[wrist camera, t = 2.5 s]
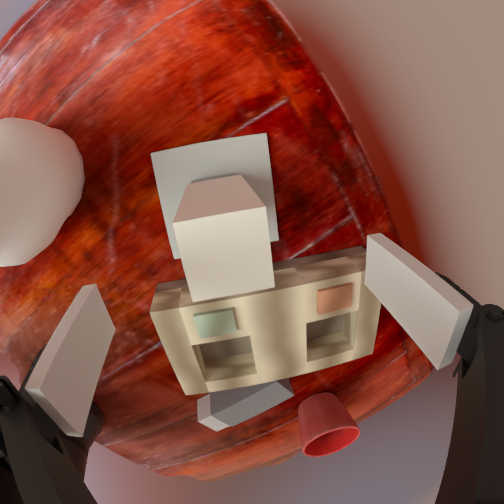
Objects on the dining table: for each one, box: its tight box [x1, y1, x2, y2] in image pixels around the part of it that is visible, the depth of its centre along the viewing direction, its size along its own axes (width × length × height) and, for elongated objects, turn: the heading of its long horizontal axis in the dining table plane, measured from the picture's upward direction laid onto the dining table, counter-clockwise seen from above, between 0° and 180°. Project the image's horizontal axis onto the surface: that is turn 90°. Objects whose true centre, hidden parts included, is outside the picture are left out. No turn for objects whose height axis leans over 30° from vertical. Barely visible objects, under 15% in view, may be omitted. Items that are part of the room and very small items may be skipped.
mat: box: [151, 133, 279, 259], centre depth 30 cm, size 12×12×1 cm
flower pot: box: [298, 392, 360, 457], centre depth 44 cm, size 11×11×10 cm
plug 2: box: [197, 378, 294, 431], centre depth 40 cm, size 15×5×5 cm, turn 126°
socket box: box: [150, 246, 381, 395], centre depth 34 cm, size 26×14×6 cm, turn 97°
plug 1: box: [173, 173, 275, 302], centre depth 23 cm, size 5×5×15 cm
